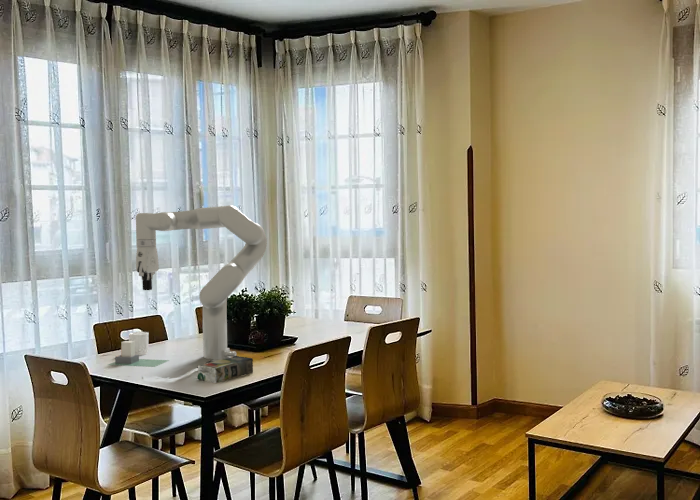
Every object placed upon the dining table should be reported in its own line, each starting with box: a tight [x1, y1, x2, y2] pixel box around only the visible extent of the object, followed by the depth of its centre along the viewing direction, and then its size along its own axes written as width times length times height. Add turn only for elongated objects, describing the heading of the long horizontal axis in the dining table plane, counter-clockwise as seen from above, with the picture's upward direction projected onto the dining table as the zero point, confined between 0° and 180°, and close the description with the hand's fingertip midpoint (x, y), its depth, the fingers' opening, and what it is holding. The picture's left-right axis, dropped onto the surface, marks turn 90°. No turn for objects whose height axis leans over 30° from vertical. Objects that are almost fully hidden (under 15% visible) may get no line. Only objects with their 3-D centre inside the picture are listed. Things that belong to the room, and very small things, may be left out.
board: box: [107, 354, 170, 368], centre depth 273 cm, size 20×12×4 cm, turn 77°
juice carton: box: [196, 355, 254, 384], centre depth 254 cm, size 20×10×6 cm, turn 145°
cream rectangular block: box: [120, 340, 135, 357], centre depth 274 cm, size 4×3×8 cm
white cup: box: [128, 331, 149, 356], centre depth 290 cm, size 8×8×10 cm
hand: (147, 289), depth 279 cm, fingers closed
